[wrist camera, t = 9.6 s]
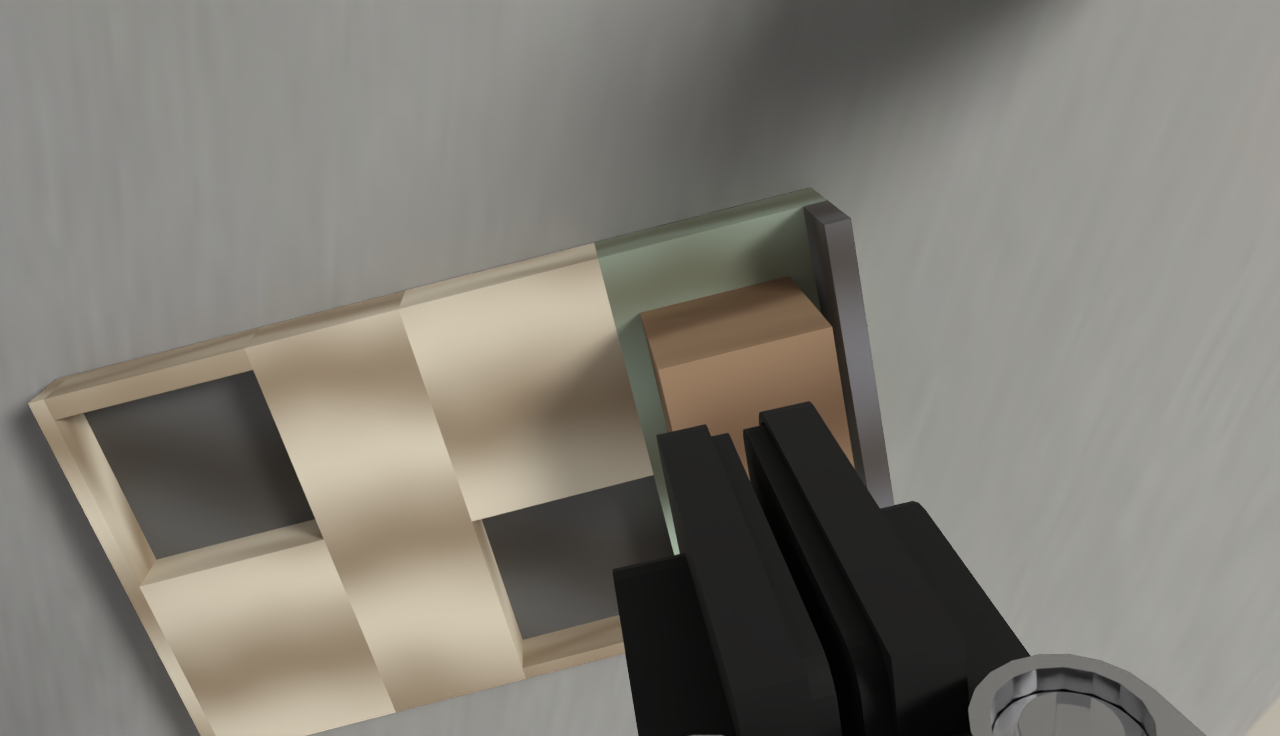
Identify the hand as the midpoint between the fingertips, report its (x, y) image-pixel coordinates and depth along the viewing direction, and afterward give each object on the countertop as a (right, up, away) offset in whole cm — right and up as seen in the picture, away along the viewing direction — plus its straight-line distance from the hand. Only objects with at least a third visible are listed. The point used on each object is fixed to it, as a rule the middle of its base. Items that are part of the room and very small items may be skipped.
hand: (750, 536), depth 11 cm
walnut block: (+2, +2, +23) cm, 23 cm away
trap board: (-6, -2, +26) cm, 26 cm away
